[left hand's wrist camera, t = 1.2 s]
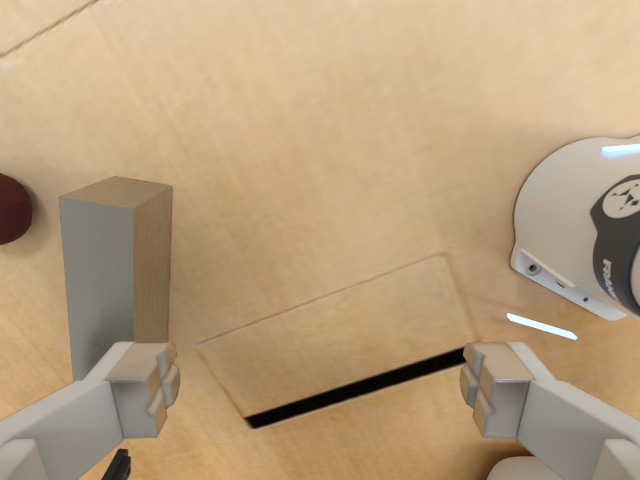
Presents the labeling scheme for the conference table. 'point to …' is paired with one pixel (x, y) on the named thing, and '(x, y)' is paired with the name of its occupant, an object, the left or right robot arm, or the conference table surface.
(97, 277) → the bar
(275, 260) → the conference table surface
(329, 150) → the conference table surface
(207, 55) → the conference table surface
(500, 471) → the white grey rounded shell
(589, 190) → the left robot arm
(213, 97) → the conference table surface
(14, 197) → the dark red plum
